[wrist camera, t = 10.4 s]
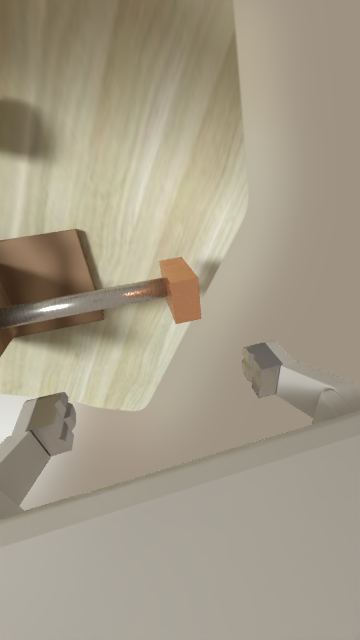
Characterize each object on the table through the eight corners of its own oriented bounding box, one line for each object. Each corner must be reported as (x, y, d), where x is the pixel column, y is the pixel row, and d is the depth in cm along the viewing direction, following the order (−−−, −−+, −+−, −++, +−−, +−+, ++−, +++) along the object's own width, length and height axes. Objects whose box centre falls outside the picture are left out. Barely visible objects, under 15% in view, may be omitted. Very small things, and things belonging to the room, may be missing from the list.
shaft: (7, 326, 32) (-24, 365, 25) (-13, 291, 29) (-53, 325, 23) (185, 291, 35) (201, 318, 28) (181, 256, 32) (198, 277, 26)
